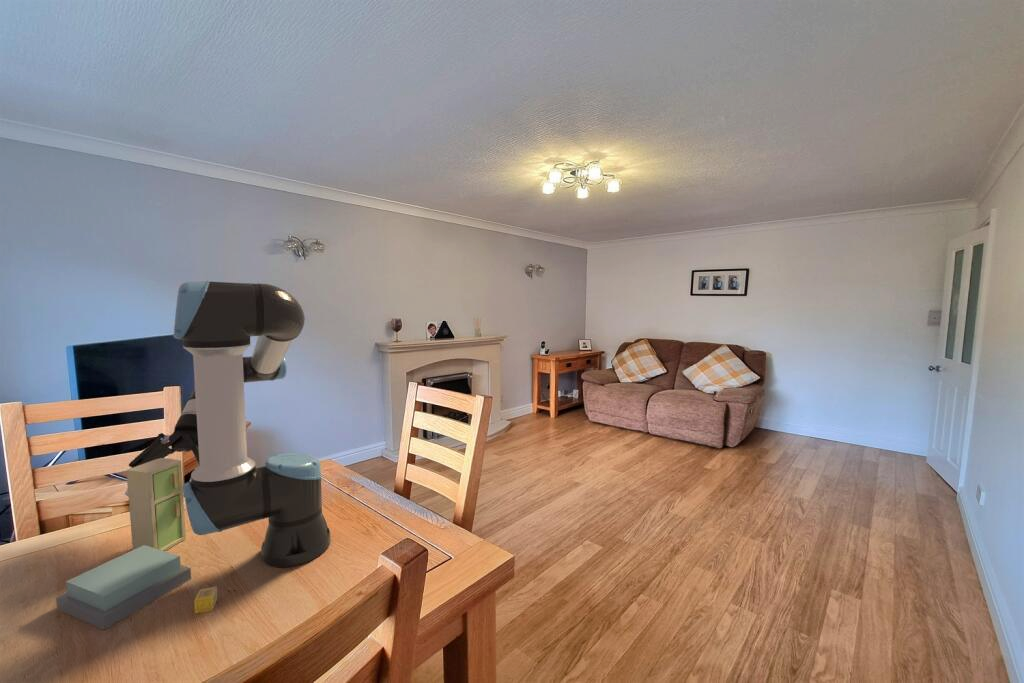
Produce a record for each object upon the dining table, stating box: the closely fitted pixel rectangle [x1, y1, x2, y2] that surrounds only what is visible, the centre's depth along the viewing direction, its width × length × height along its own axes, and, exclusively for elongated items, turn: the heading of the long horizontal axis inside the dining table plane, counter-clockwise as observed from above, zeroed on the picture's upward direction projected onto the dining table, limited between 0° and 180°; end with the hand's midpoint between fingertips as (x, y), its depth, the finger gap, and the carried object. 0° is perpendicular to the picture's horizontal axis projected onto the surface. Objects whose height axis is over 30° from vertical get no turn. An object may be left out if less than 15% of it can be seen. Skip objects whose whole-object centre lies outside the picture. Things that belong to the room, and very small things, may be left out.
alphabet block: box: [193, 586, 218, 614], centre depth 81 cm, size 3×3×3 cm
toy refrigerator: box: [126, 457, 187, 552], centre depth 100 cm, size 8×7×21 cm
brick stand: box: [55, 545, 192, 630], centre depth 84 cm, size 15×15×6 cm
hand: (159, 495), depth 101 cm, fingers open, 13 cm apart
